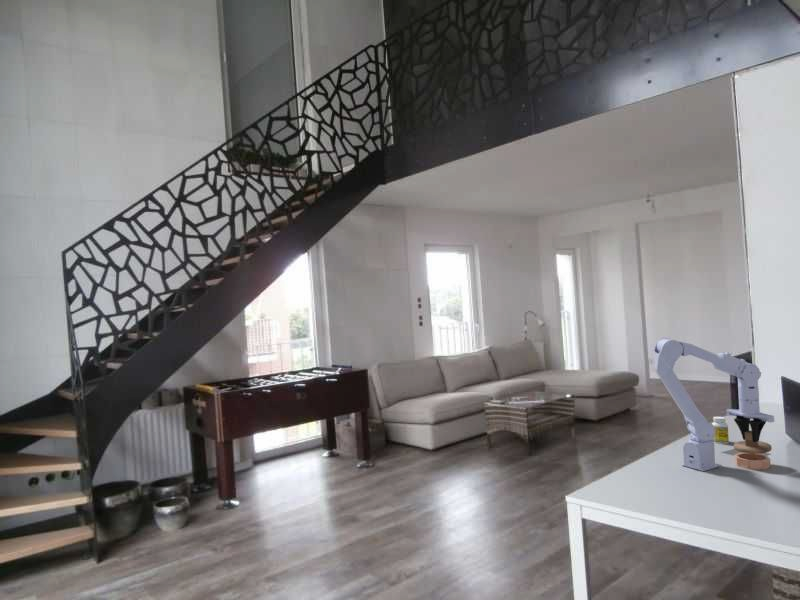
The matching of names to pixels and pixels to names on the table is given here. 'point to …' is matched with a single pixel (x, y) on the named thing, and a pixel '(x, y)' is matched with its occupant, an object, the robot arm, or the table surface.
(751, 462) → the bowl
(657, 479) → the table surface
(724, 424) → the supplement bottle
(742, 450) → the lid
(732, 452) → the mat
